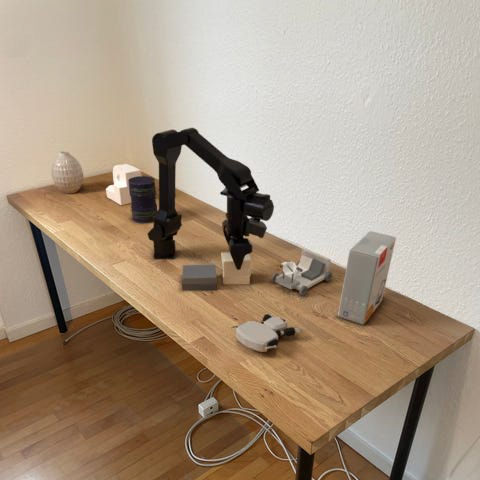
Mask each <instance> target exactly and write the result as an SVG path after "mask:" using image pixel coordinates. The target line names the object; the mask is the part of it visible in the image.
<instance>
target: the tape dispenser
mask: <svg viewBox="0 0 480 480" xmlns="http://www.w3.org/2000/svg"><path fill="white" fill-rule="evenodd" d="M138 176H142V170H141V169H139V168H137V167H135V166H133V165H131V164H128V163H123V164H118V165H114V166H113V168H112V180H113V184H110V185H108V186H107V187H106V188H105V193H106V198H108V199H109V200H111V201H113V202H115V203H117V204H118V205H120V206H124V205H128V204H131V196H130V194H129V193H130V192H129V182H128V180H129V179H130V178H133V177H138Z"/></svg>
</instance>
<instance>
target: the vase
mask: <svg viewBox="0 0 480 480" xmlns="http://www.w3.org/2000/svg"><path fill="white" fill-rule="evenodd" d="M50 173H51V178H52V180H53V183H54V185H55V186H56V187H57V188H58V189H59V190H60V191H61V192H62V193H64V194H75V193H78V192H79V190H80V189H81V187H82V185H83V183H84V171H83V168H82V165H81V163H80V162H79V160H78V159H76V157H75V156H74V155H72V154H70V152H69V151H68V150H61V151H59V152H58V154H57V155H56V157H55V158H53V161H52V165H51V171H50Z"/></svg>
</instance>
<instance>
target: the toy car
mask: <svg viewBox="0 0 480 480" xmlns="http://www.w3.org/2000/svg"><path fill="white" fill-rule="evenodd" d="M330 266H331V258H328V257H325V256H324V255H320V254H318V253H317V252H316V253H315V252H313V251H310V250H309V249H306V248H303V249H301V257H300V259H299V260H298V262H297V263H295V262H294V261H284V262H281V263H280V265H279V267H280V268H282V273H281V274H279V273H278V272H274V273H273V274H272V275H271V277H270V281H271V283H273V284H275V283H276V284H278V285H281V286H283V287H285V288H287V289H289V290H293V289H295V290H297V291H298V295H300V296H302V297H304V296H305V295H306V294H307V292H308V290H309V289H310V288H311V287H313V286H315V285H317V284H319V283H321V282H322V281H325V282H330V281H331V280H332V278H333V272H331V271H330Z"/></svg>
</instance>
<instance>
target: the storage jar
mask: <svg viewBox="0 0 480 480" xmlns="http://www.w3.org/2000/svg"><path fill="white" fill-rule="evenodd" d="M128 182H129V192H130V193H129V194H130V196H131V203H130V212H131V217H132V218H131V219H132V221H133V222H134V223H138V224H151V223H154V218H155V215H156V213H157V211H158V204H157V200H156V199H157V198H156V195H157V190H156V189H157V188H156V180H155V178H154V177H152V176H147V175H141V176H138V177H133V178H130V179H129V180H128Z"/></svg>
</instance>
